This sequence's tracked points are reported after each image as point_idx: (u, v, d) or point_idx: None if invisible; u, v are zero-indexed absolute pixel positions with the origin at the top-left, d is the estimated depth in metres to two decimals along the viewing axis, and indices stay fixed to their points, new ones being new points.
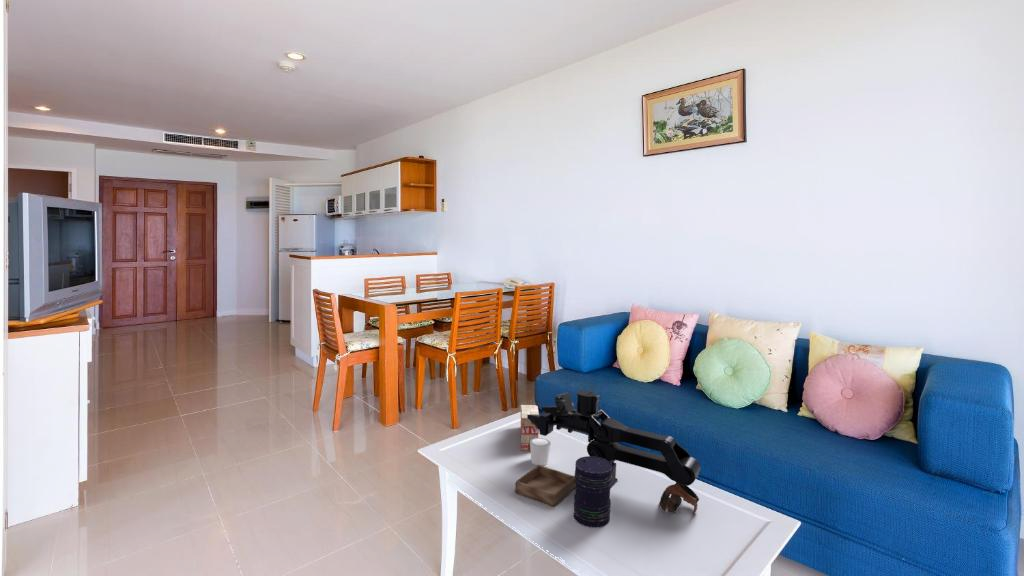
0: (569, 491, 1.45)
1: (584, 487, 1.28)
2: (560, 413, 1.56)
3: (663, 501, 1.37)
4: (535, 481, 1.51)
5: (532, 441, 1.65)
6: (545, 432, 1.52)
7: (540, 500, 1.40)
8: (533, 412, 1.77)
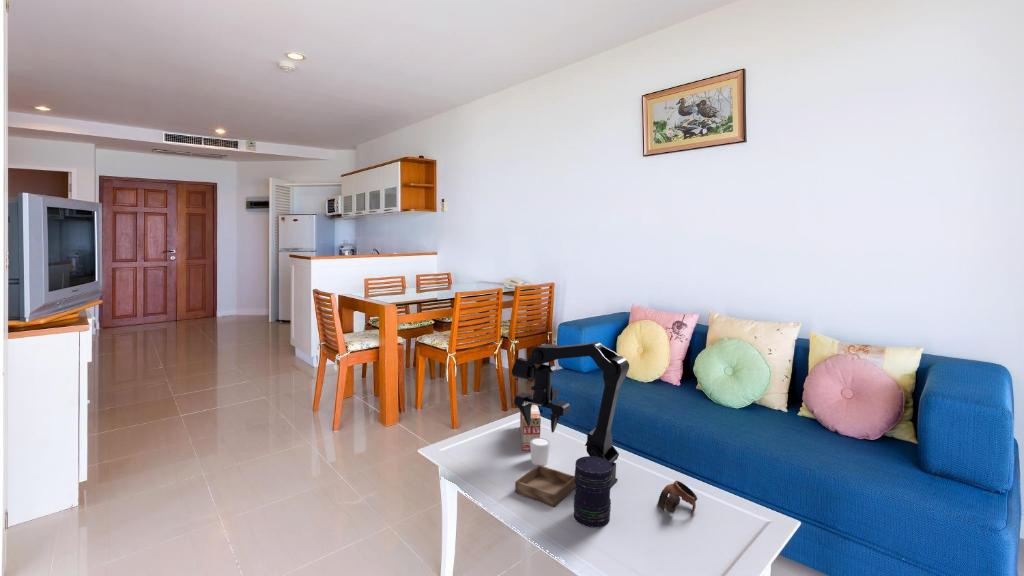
0: (569, 491, 1.45)
1: (584, 487, 1.28)
2: None
3: (662, 500, 1.38)
4: (535, 481, 1.51)
5: (532, 441, 1.65)
6: None
7: (540, 500, 1.40)
8: (534, 412, 1.77)
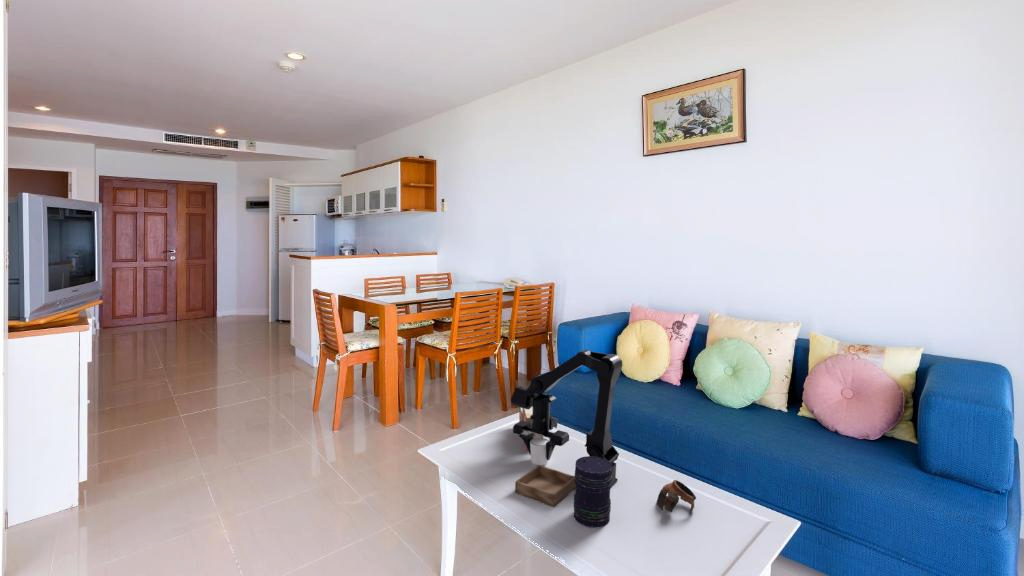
0: (569, 491, 1.45)
1: (584, 487, 1.28)
2: None
3: (661, 499, 1.38)
4: (535, 481, 1.51)
5: (532, 441, 1.65)
6: None
7: (540, 500, 1.40)
8: None
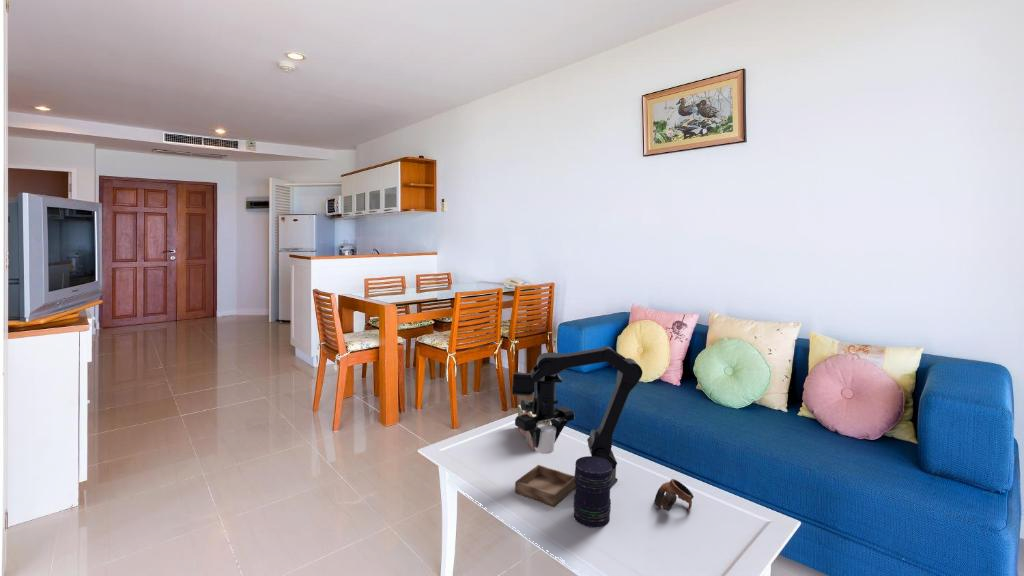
0: (569, 491, 1.45)
1: (584, 487, 1.28)
2: (532, 408, 1.51)
3: (658, 498, 1.39)
4: (535, 481, 1.51)
5: (541, 430, 1.49)
6: (523, 422, 1.44)
7: (540, 500, 1.40)
8: None
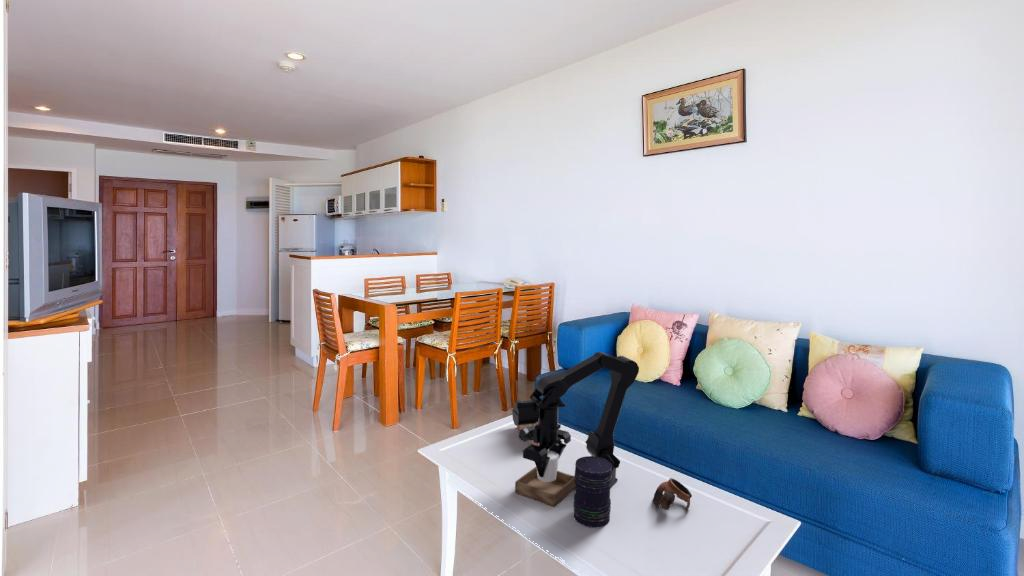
0: (569, 491, 1.45)
1: (584, 487, 1.28)
2: (534, 437, 1.44)
3: (657, 497, 1.39)
4: (535, 481, 1.51)
5: None
6: (536, 454, 1.37)
7: (540, 500, 1.40)
8: None
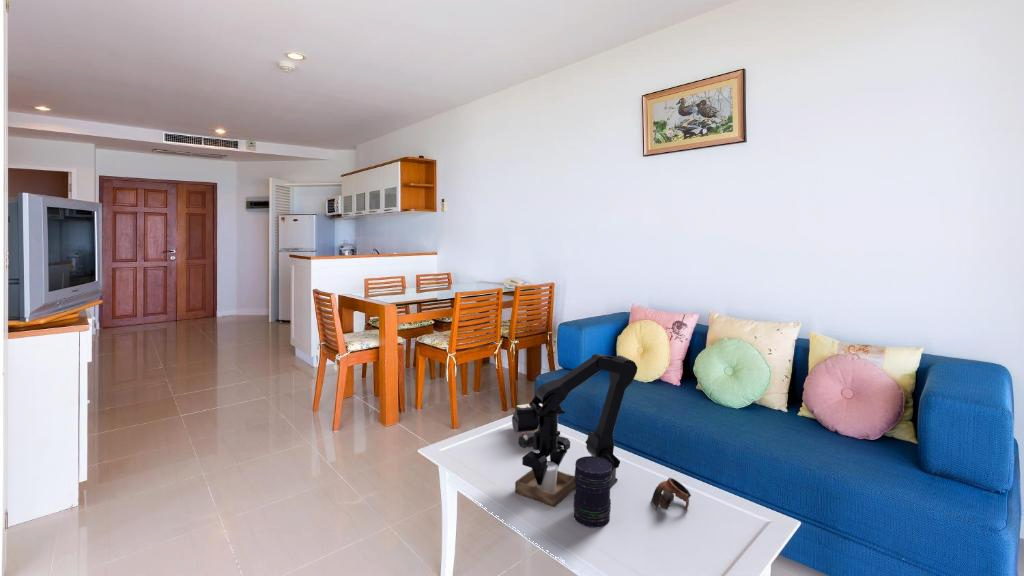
0: (569, 491, 1.45)
1: (584, 487, 1.28)
2: (534, 444, 1.44)
3: (656, 497, 1.39)
4: (535, 481, 1.51)
5: (546, 470, 1.43)
6: (536, 461, 1.37)
7: (540, 500, 1.40)
8: None
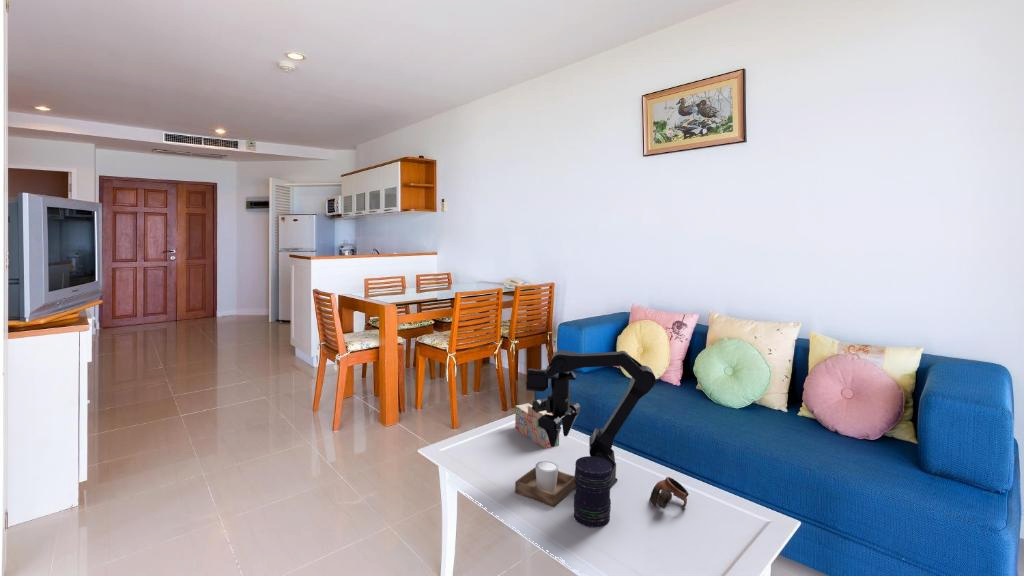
0: (569, 491, 1.45)
1: (584, 487, 1.28)
2: (547, 407, 1.51)
3: (654, 496, 1.40)
4: (535, 481, 1.51)
5: (546, 470, 1.43)
6: (551, 422, 1.44)
7: (540, 500, 1.40)
8: None
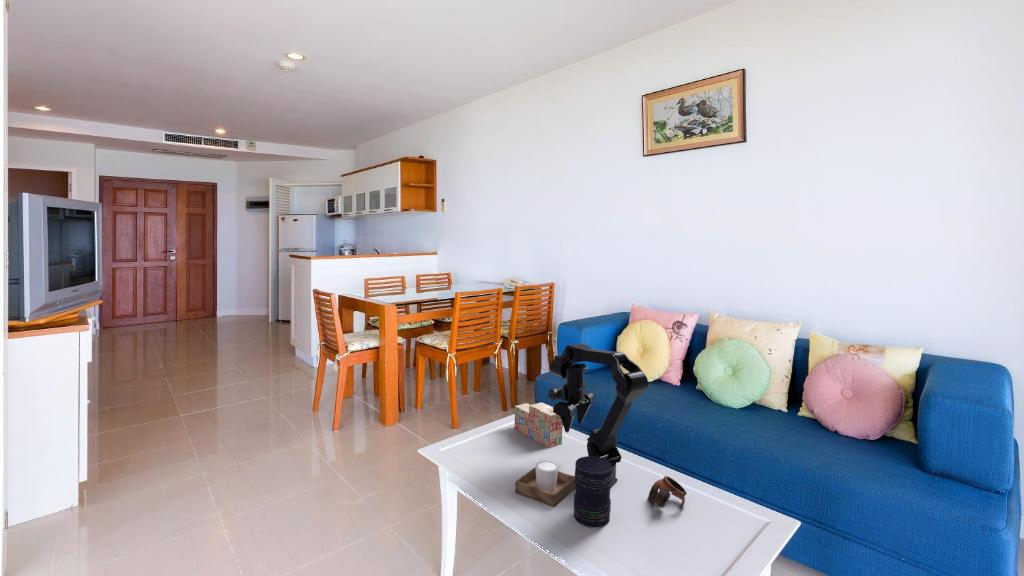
0: (569, 491, 1.45)
1: (584, 487, 1.28)
2: (562, 395, 1.62)
3: (652, 495, 1.40)
4: (535, 481, 1.51)
5: (546, 470, 1.44)
6: (565, 409, 1.54)
7: (540, 500, 1.40)
8: (550, 408, 1.81)
